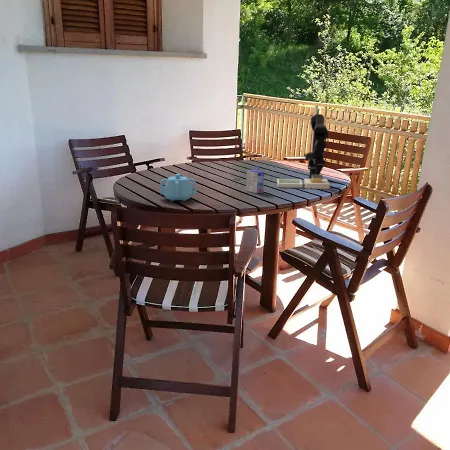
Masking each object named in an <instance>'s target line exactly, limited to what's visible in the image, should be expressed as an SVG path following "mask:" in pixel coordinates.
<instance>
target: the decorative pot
mask: <svg viewBox="0 0 450 450" xmlns="http://www.w3.org/2000/svg"><path fill="white" fill-rule="evenodd" d="M164 181H166V182H165V185H163V182H164ZM190 181H192V182H193V186H192V184H191V182H190ZM159 184H160V188H161V189H160V190H159V193H160V195H163V196H164V197H165V198H166V199H167V200H169V201H170V202H174V201H182V202H186V201H187V200H189V199H191V198H192V196H193V195H196V194H197V192H198V191H197V190H196V189H195V188H196V184H197V183H196V180H195V179H194V178H189V177H187V176H184V175H183V176H182V174H180V173H176V174H174V175H173V176H169V177H168V178H163V179H161V180H160V182H159Z"/></svg>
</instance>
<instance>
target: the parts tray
mask: <svg viewBox="0 0 450 450" xmlns="http://www.w3.org/2000/svg"><path fill="white" fill-rule="evenodd" d="M303 184H304V182H303V181H302V179H299V178H297V179H296V178H277V179H276V185H277V188H279V189H280V188H281V189H282V188H283V189H285V188H286V189H303V188H304V185H303Z"/></svg>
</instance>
